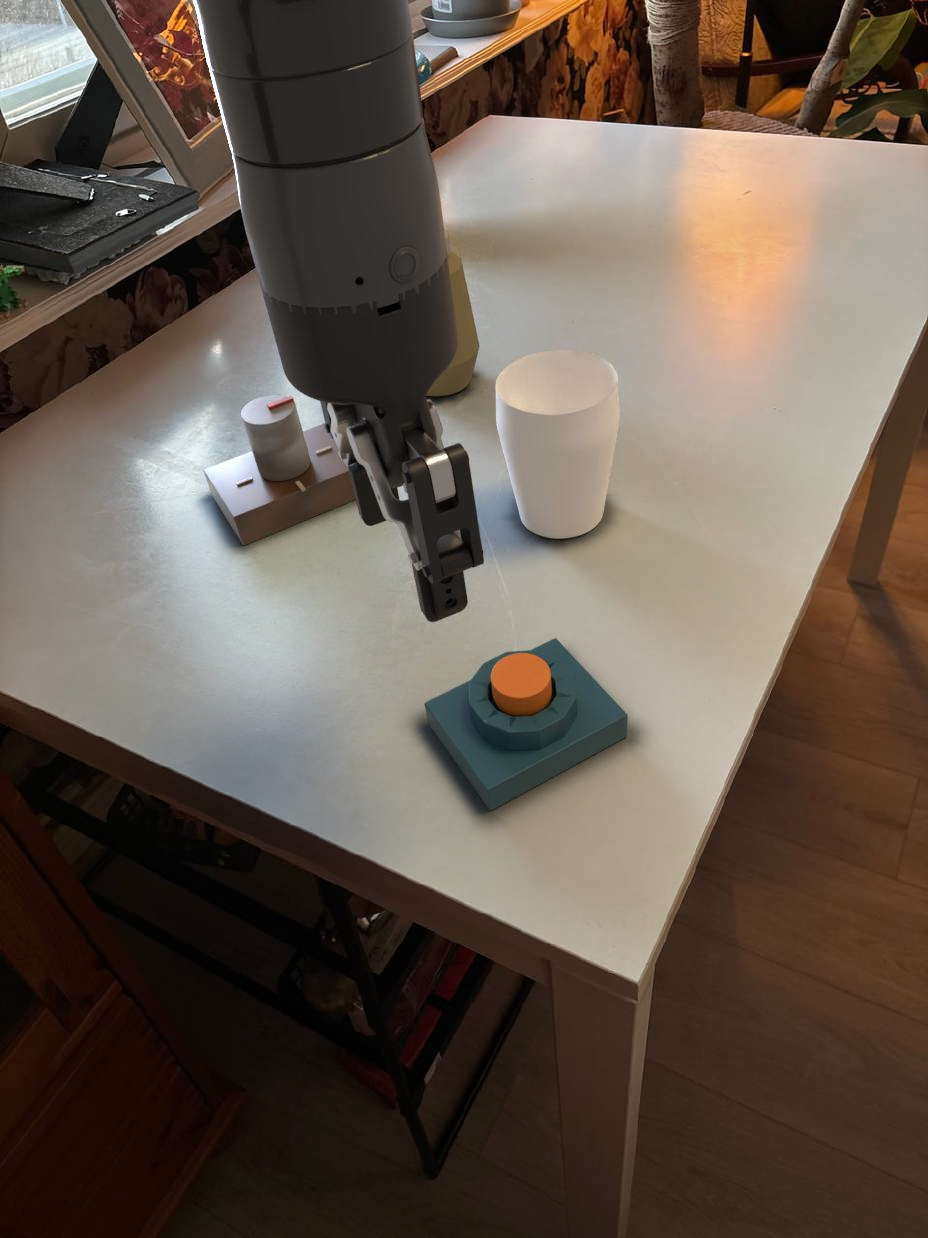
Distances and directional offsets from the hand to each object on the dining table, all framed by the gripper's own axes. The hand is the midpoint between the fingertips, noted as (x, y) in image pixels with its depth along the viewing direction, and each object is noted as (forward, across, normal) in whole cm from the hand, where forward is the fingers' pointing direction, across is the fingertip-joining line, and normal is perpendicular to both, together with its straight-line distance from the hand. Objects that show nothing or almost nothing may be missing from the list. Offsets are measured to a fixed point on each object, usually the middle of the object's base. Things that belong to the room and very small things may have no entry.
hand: (411, 562), depth 48 cm
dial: (+13, -31, 0) cm, 34 cm away
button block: (+16, +1, +5) cm, 16 cm away
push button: (+12, +1, +5) cm, 13 cm away
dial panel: (+16, -31, 0) cm, 35 cm away
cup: (+16, -17, +18) cm, 29 cm away
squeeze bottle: (+16, -41, +18) cm, 47 cm away
